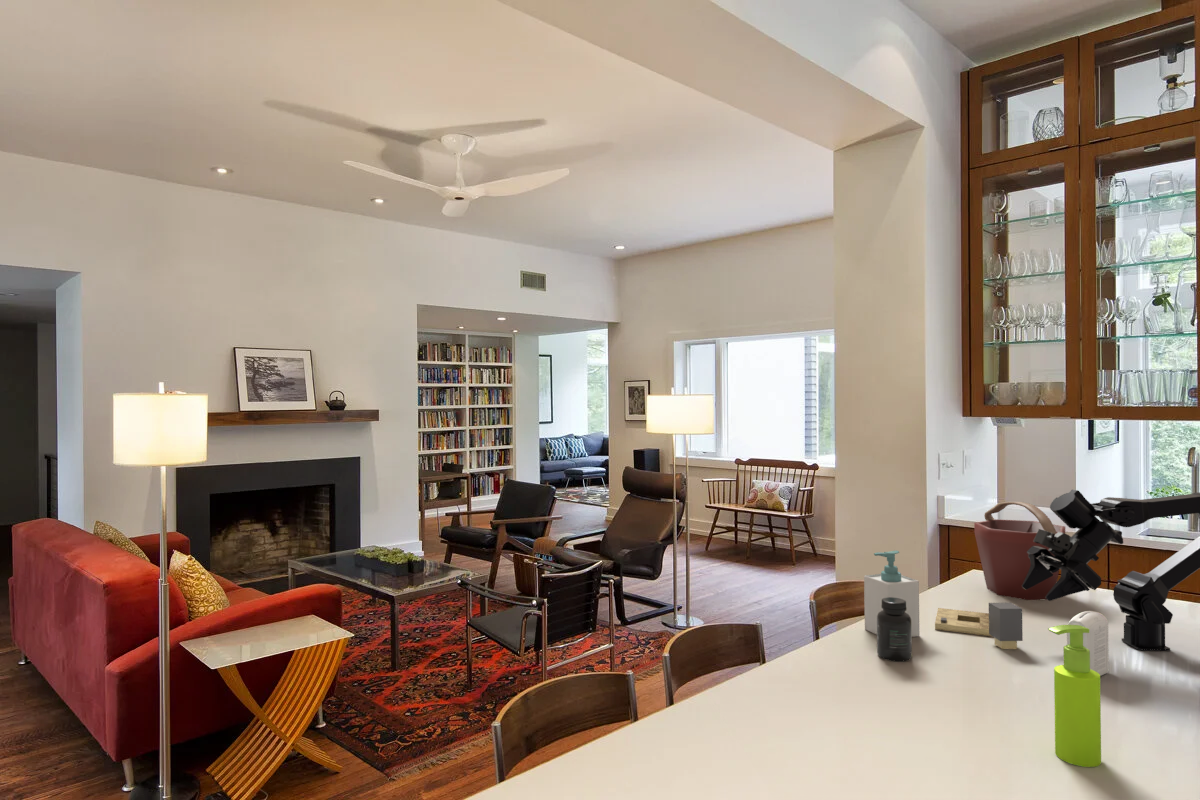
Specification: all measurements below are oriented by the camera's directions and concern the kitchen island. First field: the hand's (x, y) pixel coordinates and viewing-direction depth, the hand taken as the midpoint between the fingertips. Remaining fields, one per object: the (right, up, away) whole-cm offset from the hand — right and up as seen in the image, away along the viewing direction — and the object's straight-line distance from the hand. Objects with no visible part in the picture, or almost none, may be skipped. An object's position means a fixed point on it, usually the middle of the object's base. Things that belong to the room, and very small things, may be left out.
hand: (1035, 593), depth 161 cm
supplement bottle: (-33, -12, -5) cm, 36 cm away
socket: (-7, -12, +15) cm, 20 cm away
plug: (-6, -12, 0) cm, 13 cm away
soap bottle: (-27, -12, +10) cm, 32 cm away
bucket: (+23, -12, +44) cm, 52 cm away
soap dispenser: (-23, -12, -49) cm, 56 cm away
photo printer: (+1, -12, -17) cm, 20 cm away
